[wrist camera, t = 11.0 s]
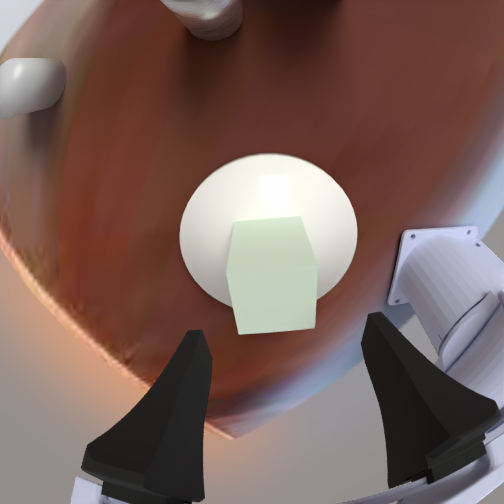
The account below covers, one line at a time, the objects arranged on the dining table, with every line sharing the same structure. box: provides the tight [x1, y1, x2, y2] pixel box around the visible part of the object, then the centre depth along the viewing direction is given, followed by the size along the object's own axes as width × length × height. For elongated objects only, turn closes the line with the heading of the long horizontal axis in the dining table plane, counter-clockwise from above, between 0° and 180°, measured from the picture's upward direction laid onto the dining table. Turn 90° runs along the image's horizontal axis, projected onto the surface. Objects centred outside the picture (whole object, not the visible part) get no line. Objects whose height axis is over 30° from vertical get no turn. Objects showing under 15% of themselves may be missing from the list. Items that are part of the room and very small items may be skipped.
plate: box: [180, 153, 357, 307], centre depth 20 cm, size 13×13×1 cm
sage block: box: [226, 216, 318, 334], centre depth 17 cm, size 4×4×6 cm
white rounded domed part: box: [0, 58, 66, 119], centre depth 11 cm, size 4×4×5 cm
